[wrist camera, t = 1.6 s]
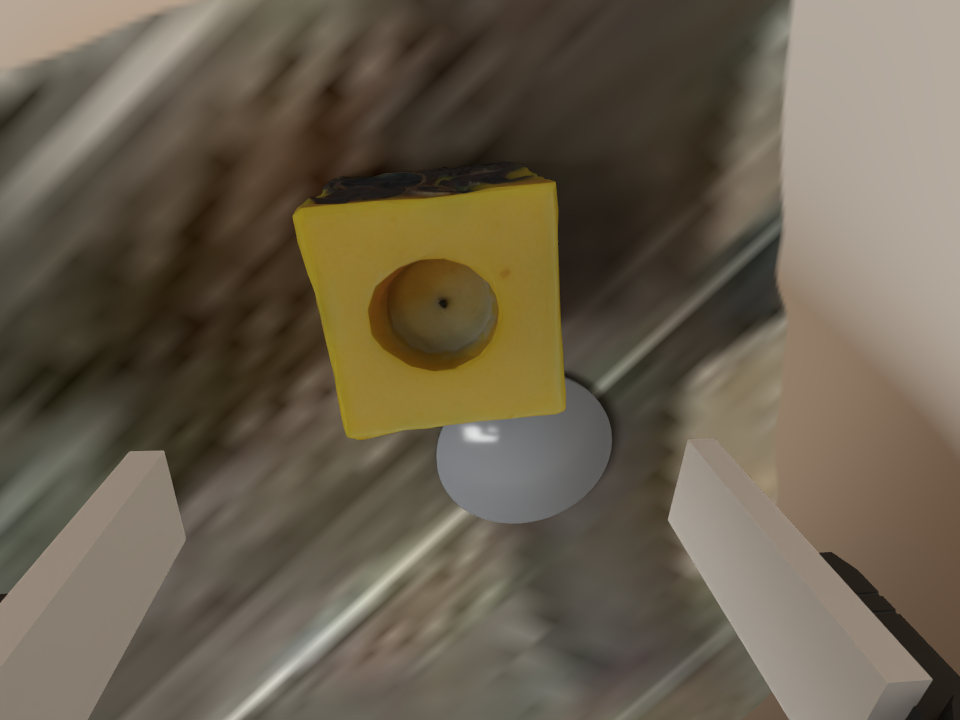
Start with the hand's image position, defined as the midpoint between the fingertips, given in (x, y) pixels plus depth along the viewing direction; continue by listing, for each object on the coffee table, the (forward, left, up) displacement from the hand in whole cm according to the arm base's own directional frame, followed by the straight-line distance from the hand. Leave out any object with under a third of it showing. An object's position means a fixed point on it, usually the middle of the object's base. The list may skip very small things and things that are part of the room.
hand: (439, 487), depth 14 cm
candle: (+1, +1, -19) cm, 19 cm away
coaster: (+7, -12, -18) cm, 23 cm away
